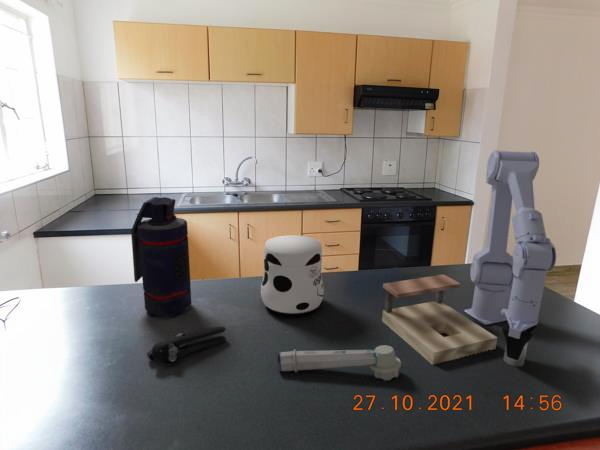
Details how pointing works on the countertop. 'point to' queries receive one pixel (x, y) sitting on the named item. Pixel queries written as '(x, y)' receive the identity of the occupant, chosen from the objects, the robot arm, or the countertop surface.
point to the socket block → (434, 321)
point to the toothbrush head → (343, 360)
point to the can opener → (172, 352)
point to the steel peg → (512, 361)
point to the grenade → (162, 258)
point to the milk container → (292, 274)
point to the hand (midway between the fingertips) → (514, 353)
